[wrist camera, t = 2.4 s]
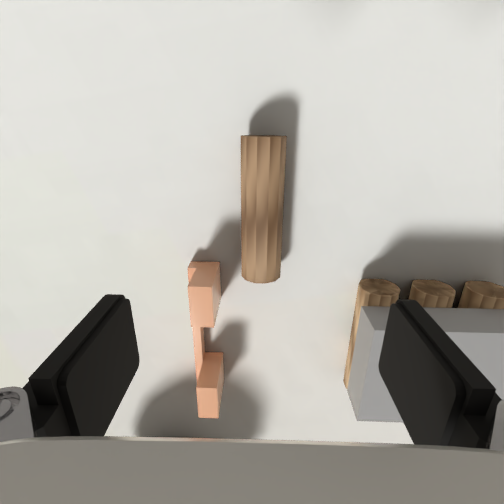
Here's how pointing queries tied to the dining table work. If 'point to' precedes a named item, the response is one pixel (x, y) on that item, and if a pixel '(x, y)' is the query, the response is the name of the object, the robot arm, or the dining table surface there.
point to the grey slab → (454, 325)
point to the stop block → (203, 315)
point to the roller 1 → (262, 206)
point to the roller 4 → (482, 295)
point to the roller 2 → (369, 295)
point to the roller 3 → (432, 293)
